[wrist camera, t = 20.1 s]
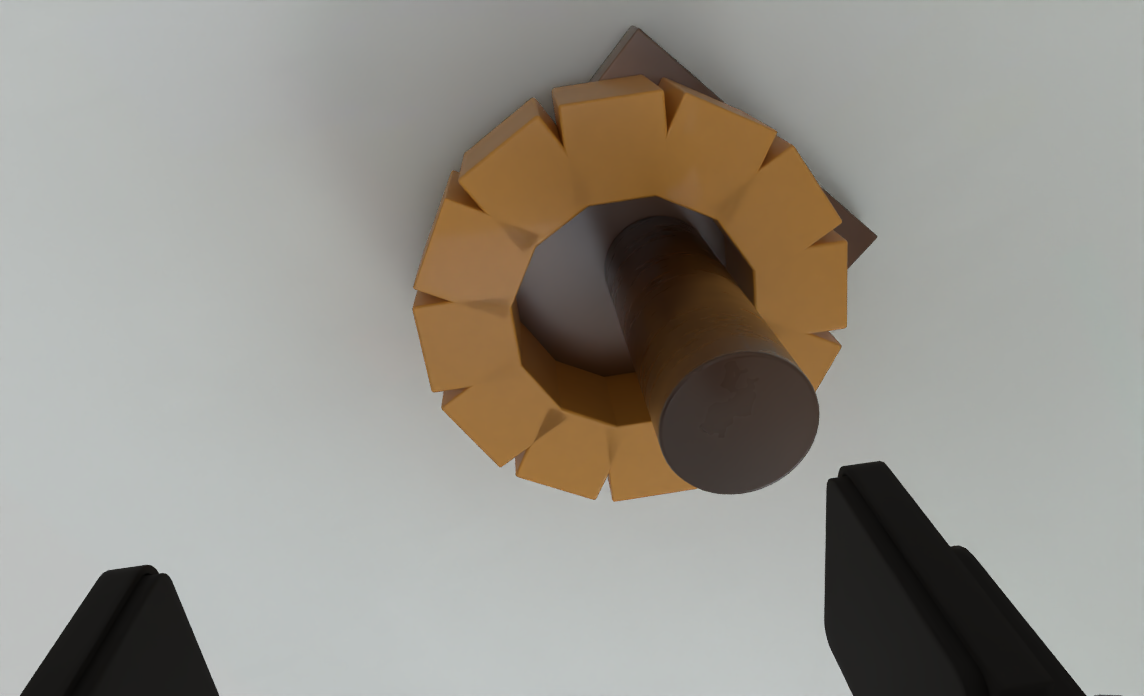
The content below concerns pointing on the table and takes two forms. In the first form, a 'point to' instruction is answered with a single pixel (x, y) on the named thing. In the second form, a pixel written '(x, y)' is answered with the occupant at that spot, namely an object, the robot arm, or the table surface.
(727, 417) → the post
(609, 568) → the table surface
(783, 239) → the ring
